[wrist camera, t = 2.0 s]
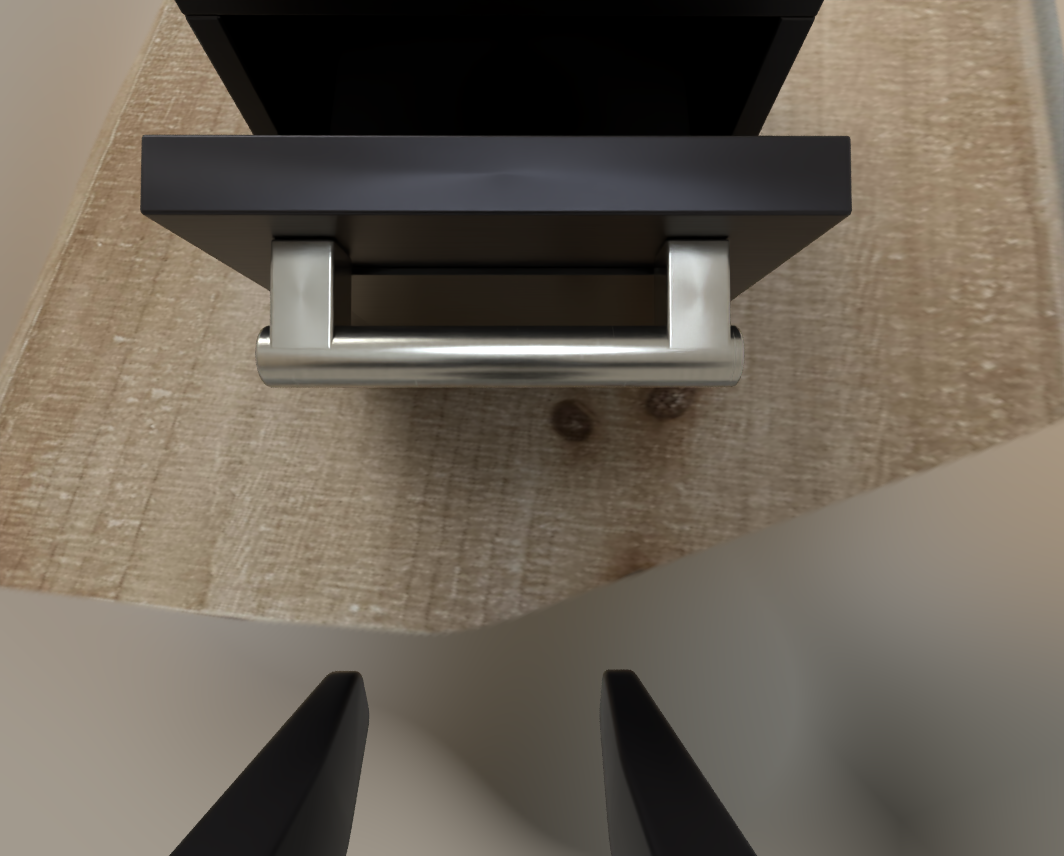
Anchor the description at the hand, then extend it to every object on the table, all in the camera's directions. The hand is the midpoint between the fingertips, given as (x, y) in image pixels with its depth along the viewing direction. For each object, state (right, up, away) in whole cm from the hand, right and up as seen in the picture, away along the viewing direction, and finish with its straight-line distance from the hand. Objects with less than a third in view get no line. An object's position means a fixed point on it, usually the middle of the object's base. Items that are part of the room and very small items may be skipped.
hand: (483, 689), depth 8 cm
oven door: (0, +7, +16) cm, 17 cm away
